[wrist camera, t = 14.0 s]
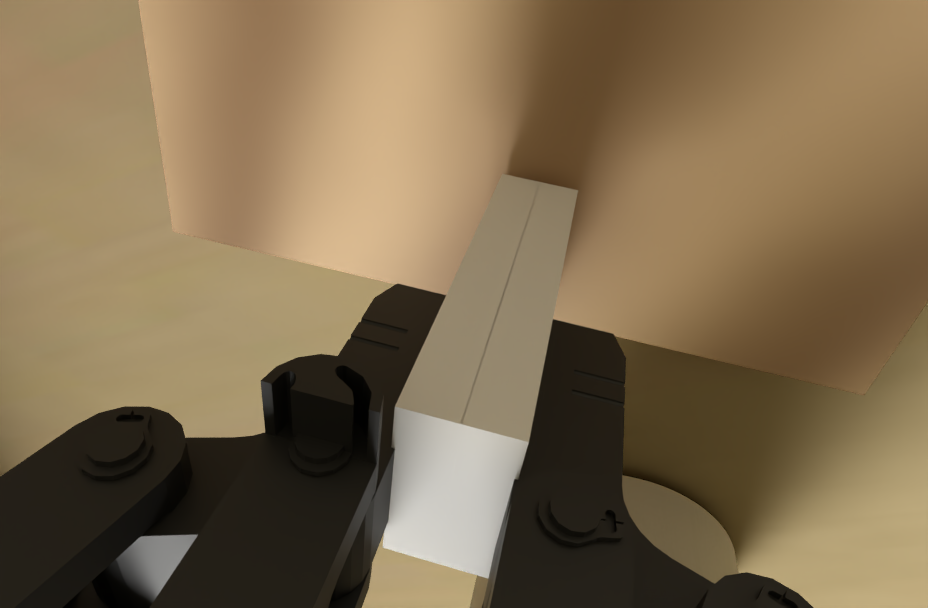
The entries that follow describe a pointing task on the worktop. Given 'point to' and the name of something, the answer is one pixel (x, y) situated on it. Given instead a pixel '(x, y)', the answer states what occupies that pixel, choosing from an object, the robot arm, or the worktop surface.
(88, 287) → the worktop surface
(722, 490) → the worktop surface
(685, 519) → the travel mug
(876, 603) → the worktop surface
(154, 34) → the plank
